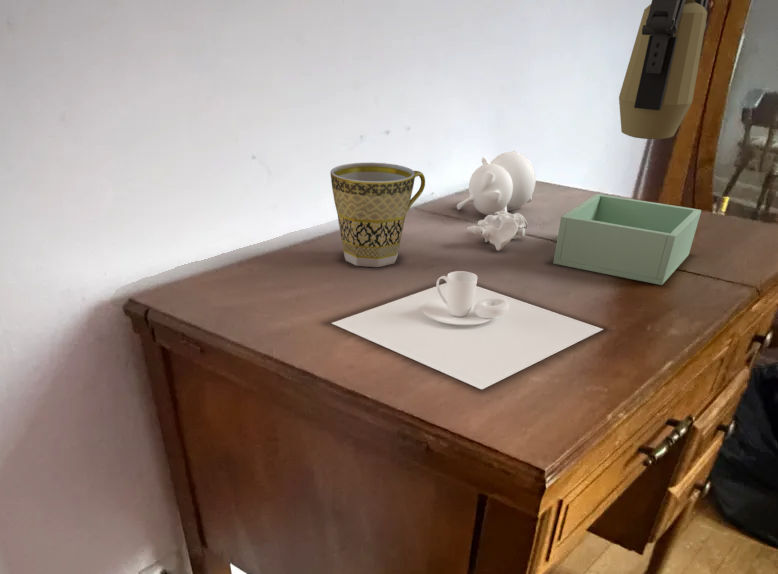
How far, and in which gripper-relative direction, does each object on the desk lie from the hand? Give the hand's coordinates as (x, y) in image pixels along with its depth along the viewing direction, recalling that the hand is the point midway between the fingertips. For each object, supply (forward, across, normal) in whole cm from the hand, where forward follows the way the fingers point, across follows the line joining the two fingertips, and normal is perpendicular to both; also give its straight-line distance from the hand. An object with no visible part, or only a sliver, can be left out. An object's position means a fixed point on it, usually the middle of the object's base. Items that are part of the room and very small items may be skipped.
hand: (657, 103), depth 81 cm
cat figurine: (+17, -11, -23) cm, 31 cm away
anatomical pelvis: (+17, +3, -16) cm, 24 cm away
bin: (+17, 0, 0) cm, 17 cm away
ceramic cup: (+17, +17, -26) cm, 36 cm away
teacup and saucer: (+17, +31, -7) cm, 36 cm away
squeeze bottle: (+3, 0, 0) cm, 3 cm away
